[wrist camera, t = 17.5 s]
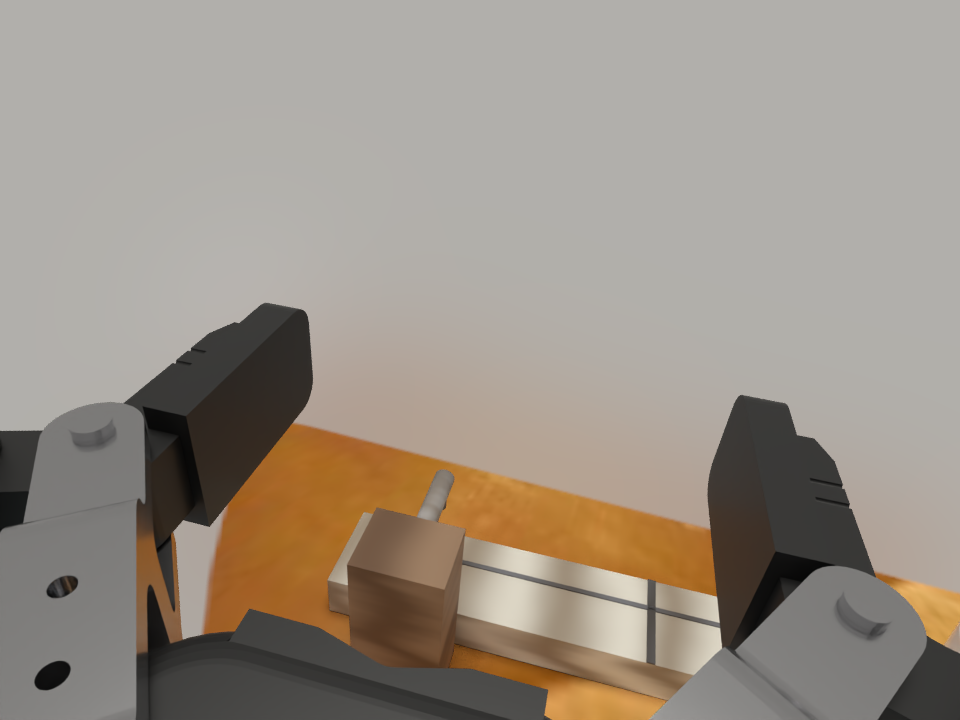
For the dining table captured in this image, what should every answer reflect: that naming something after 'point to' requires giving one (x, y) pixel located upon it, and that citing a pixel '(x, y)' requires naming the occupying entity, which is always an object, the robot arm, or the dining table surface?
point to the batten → (572, 617)
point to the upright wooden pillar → (407, 584)
